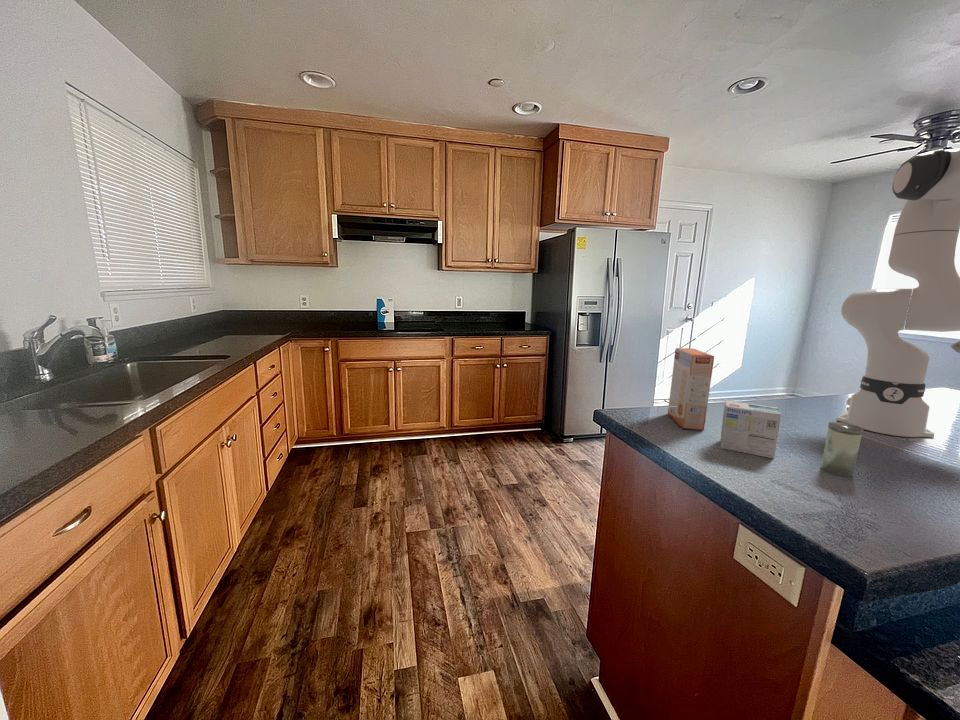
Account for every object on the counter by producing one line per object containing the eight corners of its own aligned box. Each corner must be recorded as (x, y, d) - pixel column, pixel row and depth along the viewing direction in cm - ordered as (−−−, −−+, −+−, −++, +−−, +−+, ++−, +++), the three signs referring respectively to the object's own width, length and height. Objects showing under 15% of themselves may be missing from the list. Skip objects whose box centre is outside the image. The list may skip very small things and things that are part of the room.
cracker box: (705, 431, 101) (715, 355, 97) (681, 429, 102) (690, 354, 98) (688, 415, 114) (696, 348, 111) (666, 413, 115) (674, 347, 112)
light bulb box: (771, 449, 89) (778, 406, 88) (775, 459, 84) (782, 414, 82) (719, 439, 95) (724, 399, 93) (719, 448, 89) (725, 405, 88)
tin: (820, 463, 82) (828, 420, 81) (853, 471, 79) (862, 426, 77) (820, 471, 79) (828, 426, 77) (854, 479, 75) (864, 432, 73)
